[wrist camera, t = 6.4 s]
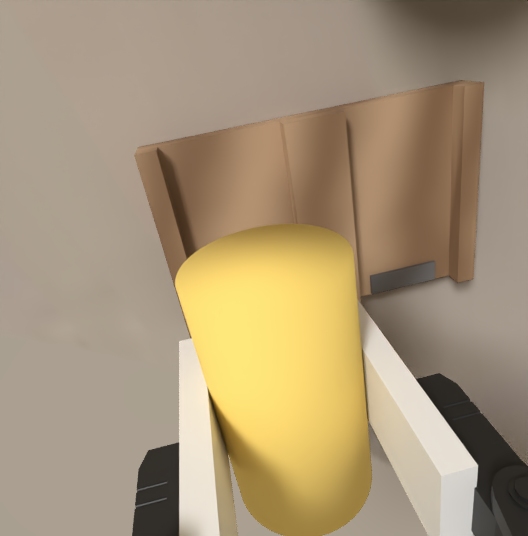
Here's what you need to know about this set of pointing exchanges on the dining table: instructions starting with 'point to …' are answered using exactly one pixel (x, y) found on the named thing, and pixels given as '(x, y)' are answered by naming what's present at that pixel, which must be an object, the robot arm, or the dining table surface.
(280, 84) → the dining table surface
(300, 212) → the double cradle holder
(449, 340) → the dining table surface
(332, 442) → the yellow foam roll
